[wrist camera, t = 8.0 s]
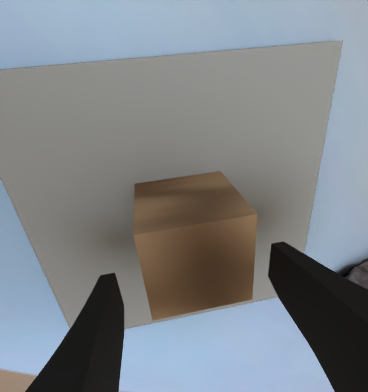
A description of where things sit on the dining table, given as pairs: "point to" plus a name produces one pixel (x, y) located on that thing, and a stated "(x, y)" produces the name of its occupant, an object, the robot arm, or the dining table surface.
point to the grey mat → (160, 154)
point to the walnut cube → (194, 243)
